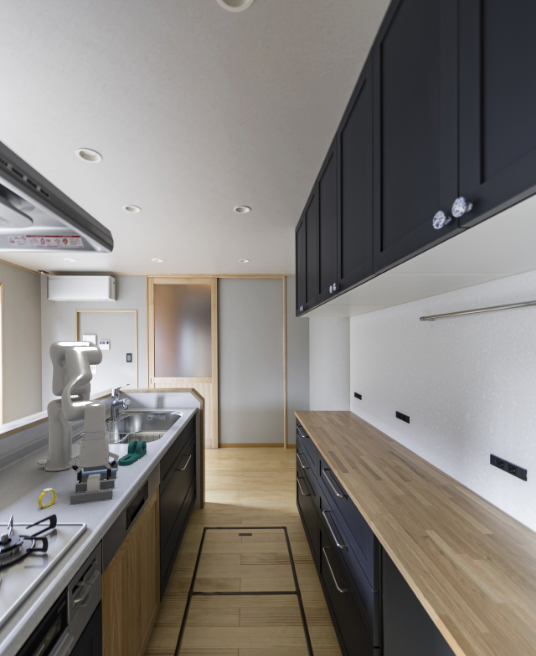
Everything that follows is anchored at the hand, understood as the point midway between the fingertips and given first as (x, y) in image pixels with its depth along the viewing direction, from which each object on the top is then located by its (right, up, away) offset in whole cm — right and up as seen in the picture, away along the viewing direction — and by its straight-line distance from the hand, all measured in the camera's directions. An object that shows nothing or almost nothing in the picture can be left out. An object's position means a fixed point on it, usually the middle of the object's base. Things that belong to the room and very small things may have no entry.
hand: (94, 480), depth 138 cm
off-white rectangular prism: (0, -6, 0) cm, 6 cm away
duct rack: (-4, -6, +10) cm, 12 cm away
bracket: (-1, -7, +41) cm, 42 cm away
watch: (-13, -6, -9) cm, 16 cm away
